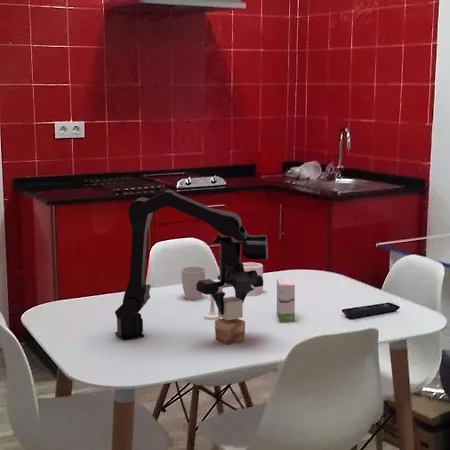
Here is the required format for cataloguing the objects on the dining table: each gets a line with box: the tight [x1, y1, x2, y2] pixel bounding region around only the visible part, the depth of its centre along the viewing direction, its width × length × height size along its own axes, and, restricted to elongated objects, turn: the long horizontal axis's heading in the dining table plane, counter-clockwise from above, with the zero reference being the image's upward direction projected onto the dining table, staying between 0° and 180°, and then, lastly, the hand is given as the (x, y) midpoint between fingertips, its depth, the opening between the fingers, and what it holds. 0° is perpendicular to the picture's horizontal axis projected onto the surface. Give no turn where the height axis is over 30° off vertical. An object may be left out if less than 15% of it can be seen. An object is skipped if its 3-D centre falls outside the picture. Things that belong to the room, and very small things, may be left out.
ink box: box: [276, 277, 296, 323], centre depth 233 cm, size 9×5×12 cm, turn 2°
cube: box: [217, 295, 244, 320], centre depth 212 cm, size 5×5×5 cm
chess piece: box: [204, 294, 221, 321], centre depth 234 cm, size 5×5×10 cm
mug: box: [242, 261, 264, 297], centre depth 263 cm, size 12×9×10 cm
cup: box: [180, 266, 206, 301], centre depth 255 cm, size 8×8×10 cm
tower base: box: [214, 330, 246, 346], centre depth 214 cm, size 6×6×3 cm
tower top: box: [214, 318, 246, 336], centre depth 213 cm, size 6×6×3 cm
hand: (230, 313), depth 213 cm, fingers closed on cube, 5 cm apart
